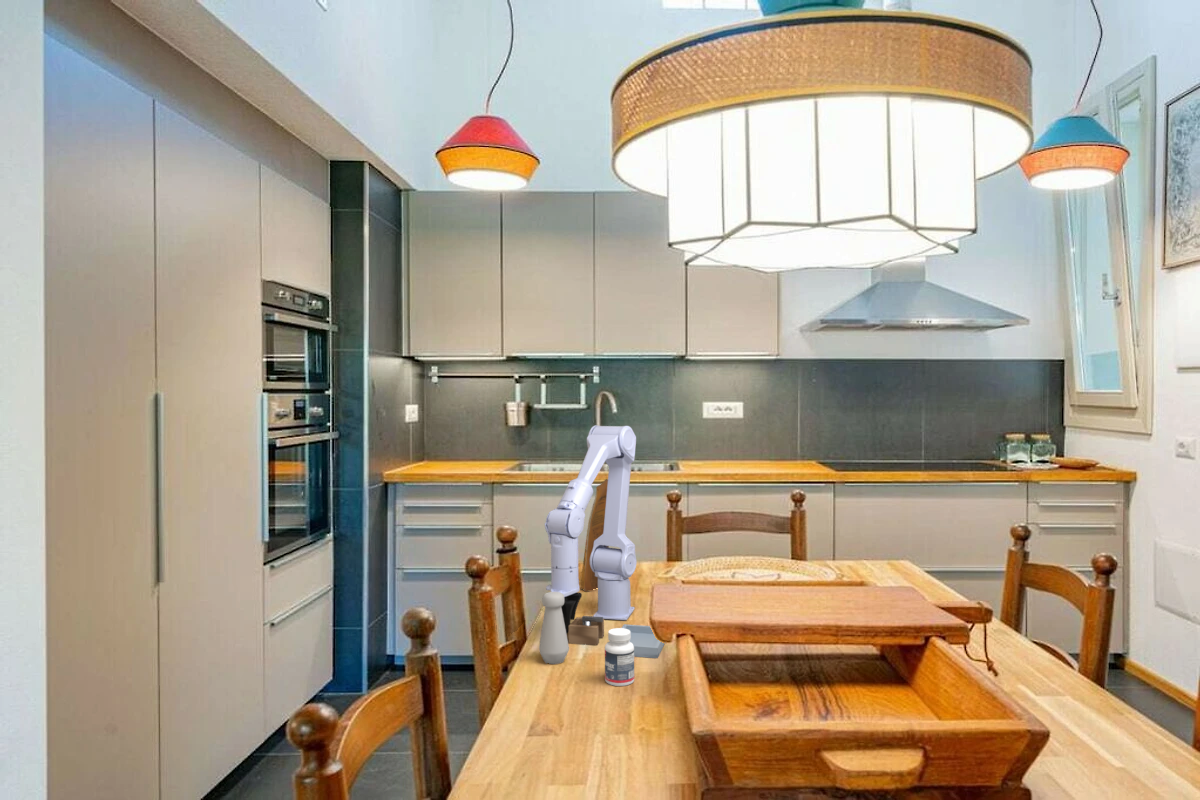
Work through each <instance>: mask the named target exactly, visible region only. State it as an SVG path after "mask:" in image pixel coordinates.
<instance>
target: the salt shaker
mask: <svg viewBox="0 0 1200 800" xmlns="http://www.w3.org/2000/svg"><path fill="white" fill-rule="evenodd" d="M541 598H542V599H541V603H542V606H543V607H545V608H544V611H543V613H544V614H543V621H542V625H541V627H542V628H541V634H540V638H539V639H540V640H539V646H538V649H539V653H540V655H541V658H542V661H543V662H544V663H545V664H547V663H549V664H548V665H558V664H562V663H564V661H565V659H566V658H567V655H568V653H569V650H570V645H569V640H568V639H567V634H566V629H565V623H564V618H563V613H562V608H561V606H563V605H564V600H565V599H564V595H563V594H562V593H560V592H551V591H548V592H544V594H543V595H542V597H541Z"/></svg>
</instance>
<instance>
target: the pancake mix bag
mask: <svg viewBox="0 0 1200 800" xmlns="http://www.w3.org/2000/svg"><path fill="white" fill-rule="evenodd" d="M607 485H608V478H605V479H604V480H603V481H602V483H600V484H599V485H597V486H596V487H595V488H596V491H595V496H594V499H593V503H592V507H591V510H590V514H589V517H588V523H587V524H588V525H587V530H586V536H585V537H586V538H585V544H584V545H585V546H584V555H583V560H582V569H581V576H580V581H581V582H580V589H581V588H582V589H584V590H583V591H584V592H588V591H587V590H593V589H596V588H598V577H596V576H595V572H593V571H592V569H591V566H590V555H591V552H592V550H593V545H594V541H595V540H596V539H597V538H598V537H600V536H601V535H602V534H603V531H604V519H605V508H606V496H607ZM607 547H608V548H610V546H607ZM582 589H581V590H582Z"/></svg>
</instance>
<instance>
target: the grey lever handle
mask: <svg viewBox="0 0 1200 800" xmlns="http://www.w3.org/2000/svg"><path fill="white" fill-rule="evenodd" d="M581 618H582V622H583V625H586V626H591V622H603V617H595V616H591V615H583V616H581Z"/></svg>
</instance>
